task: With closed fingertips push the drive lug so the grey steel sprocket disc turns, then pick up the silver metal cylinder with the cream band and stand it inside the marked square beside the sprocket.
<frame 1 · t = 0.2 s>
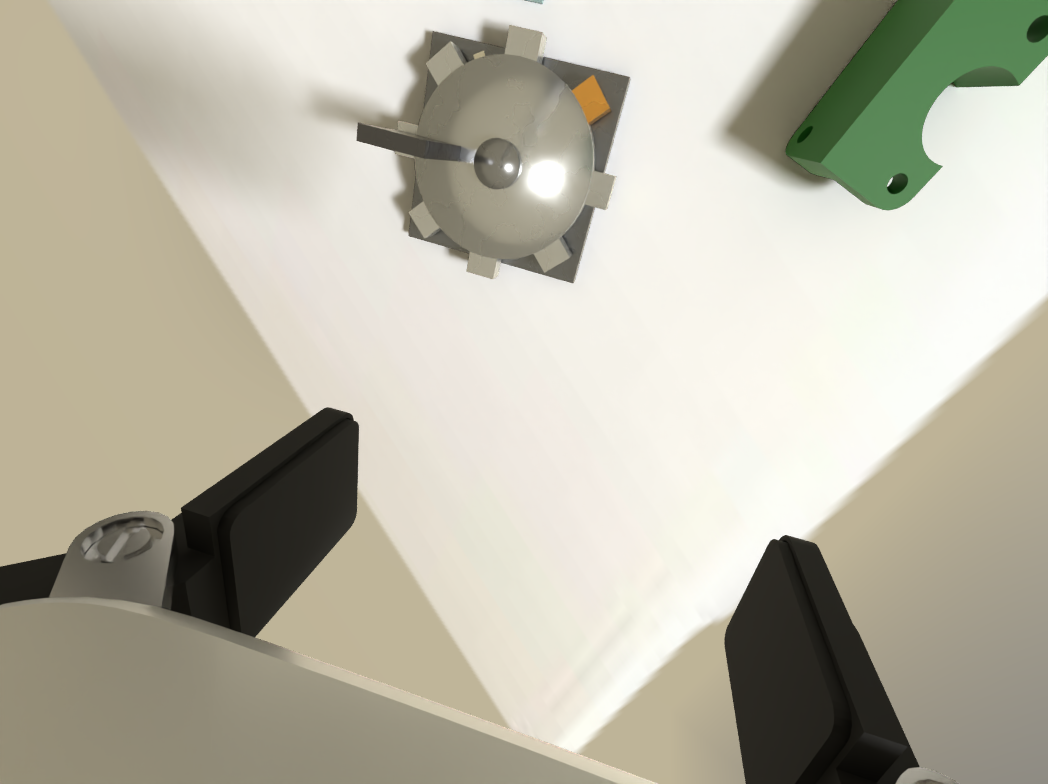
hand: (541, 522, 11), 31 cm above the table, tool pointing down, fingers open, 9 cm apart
sprocket: (490, 163, 33), point 5 cm above the table, hinge at 0.0°
sprocket base: (510, 165, 37), on the table
green mounting bracket: (889, 101, 31), on the table
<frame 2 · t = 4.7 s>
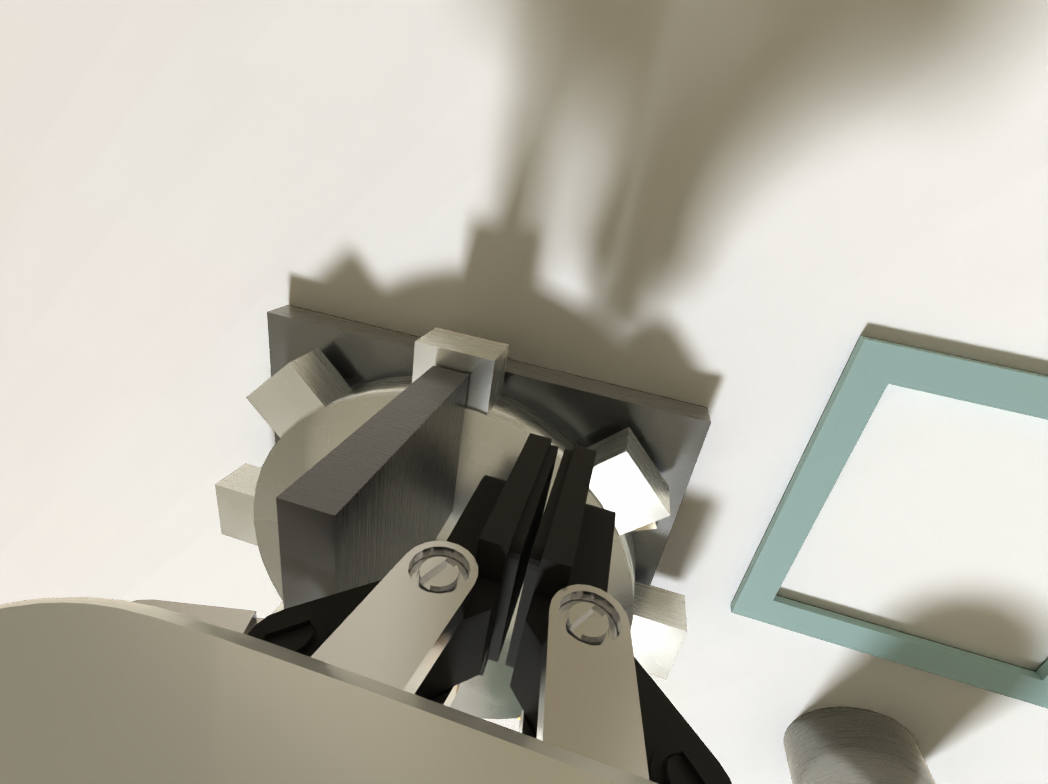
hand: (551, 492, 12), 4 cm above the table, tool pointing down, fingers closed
sprocket: (397, 635, 14), point 5 cm above the table, hinge at 0.2°, touching gripper
sprocket base: (460, 524, 19), on the table
seat bay: (965, 537, 14), on the table
silver metal cylinder: (848, 748, 18), on the table
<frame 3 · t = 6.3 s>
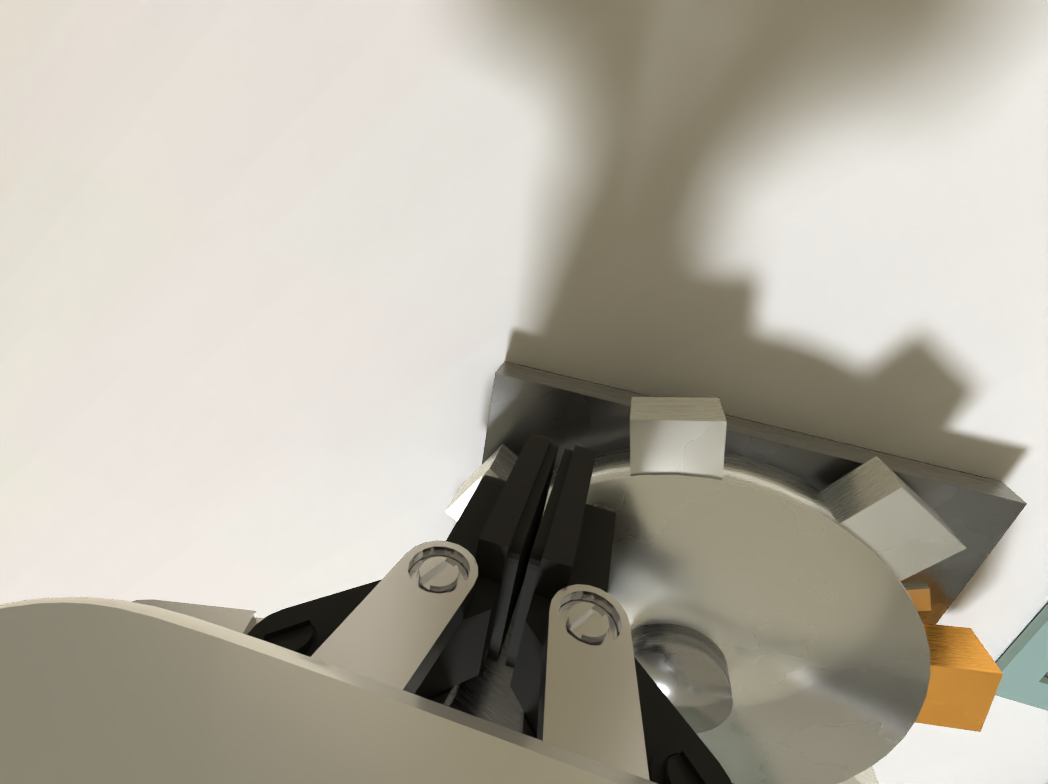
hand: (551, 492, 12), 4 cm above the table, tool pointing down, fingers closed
sprocket: (673, 739, 13), point 5 cm above the table, hinge at 59.8°, touching gripper
sprocket base: (666, 590, 17), on the table
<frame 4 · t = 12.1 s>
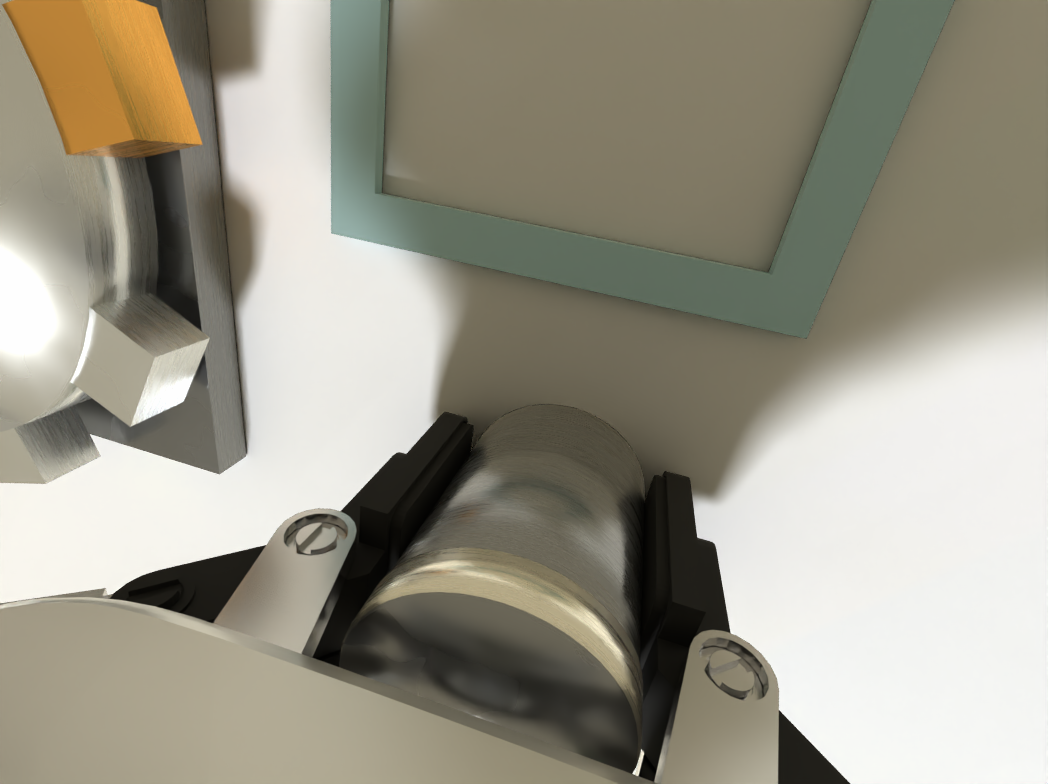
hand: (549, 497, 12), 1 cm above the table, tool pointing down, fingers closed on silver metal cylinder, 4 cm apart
silver metal cylinder: (554, 484, 12), on the table, touching gripper
when the fingers open (2 cm above the table, at t = 16.7 s): silver metal cylinder drops 1 cm, on the table.
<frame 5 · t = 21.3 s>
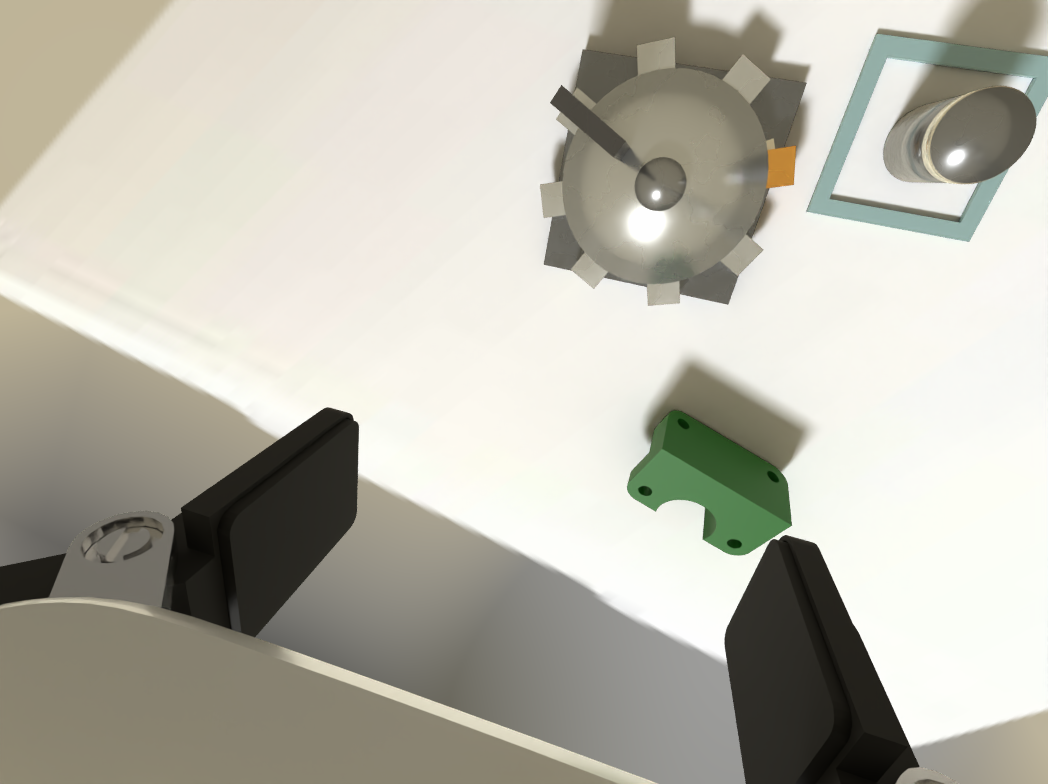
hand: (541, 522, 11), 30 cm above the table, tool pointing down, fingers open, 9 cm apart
sprocket: (660, 184, 30), point 5 cm above the table, hinge at 62.6°
sprocket base: (659, 184, 35), on the table
seat bay: (923, 143, 31), on the table
green mounting bracket: (701, 465, 43), on the table
silver metal cylinder: (924, 144, 31), on the table
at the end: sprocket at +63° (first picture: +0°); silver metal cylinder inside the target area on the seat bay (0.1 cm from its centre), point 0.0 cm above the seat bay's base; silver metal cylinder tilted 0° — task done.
